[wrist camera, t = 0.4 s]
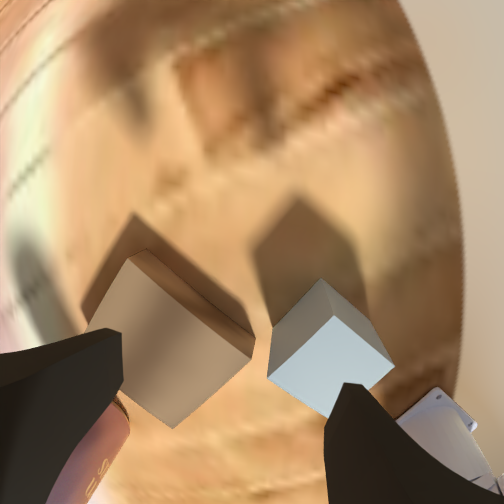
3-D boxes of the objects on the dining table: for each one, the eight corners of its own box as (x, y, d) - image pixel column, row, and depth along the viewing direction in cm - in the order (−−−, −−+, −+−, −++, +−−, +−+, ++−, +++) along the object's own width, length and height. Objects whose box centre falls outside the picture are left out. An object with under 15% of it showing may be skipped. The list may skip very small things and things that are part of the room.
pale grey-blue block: (369, 319, 18) (394, 366, 13) (322, 365, 19) (330, 419, 14) (320, 277, 18) (333, 314, 12) (272, 327, 19) (266, 378, 13)
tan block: (256, 335, 19) (251, 359, 16) (184, 404, 21) (172, 428, 19) (149, 247, 19) (127, 258, 16) (95, 333, 21) (75, 350, 18)
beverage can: (80, 376, 22) (-22, 482, 7) (137, 410, 22) (52, 542, 7) (78, 414, 23) (-1, 509, 9) (128, 444, 23) (63, 555, 9)
